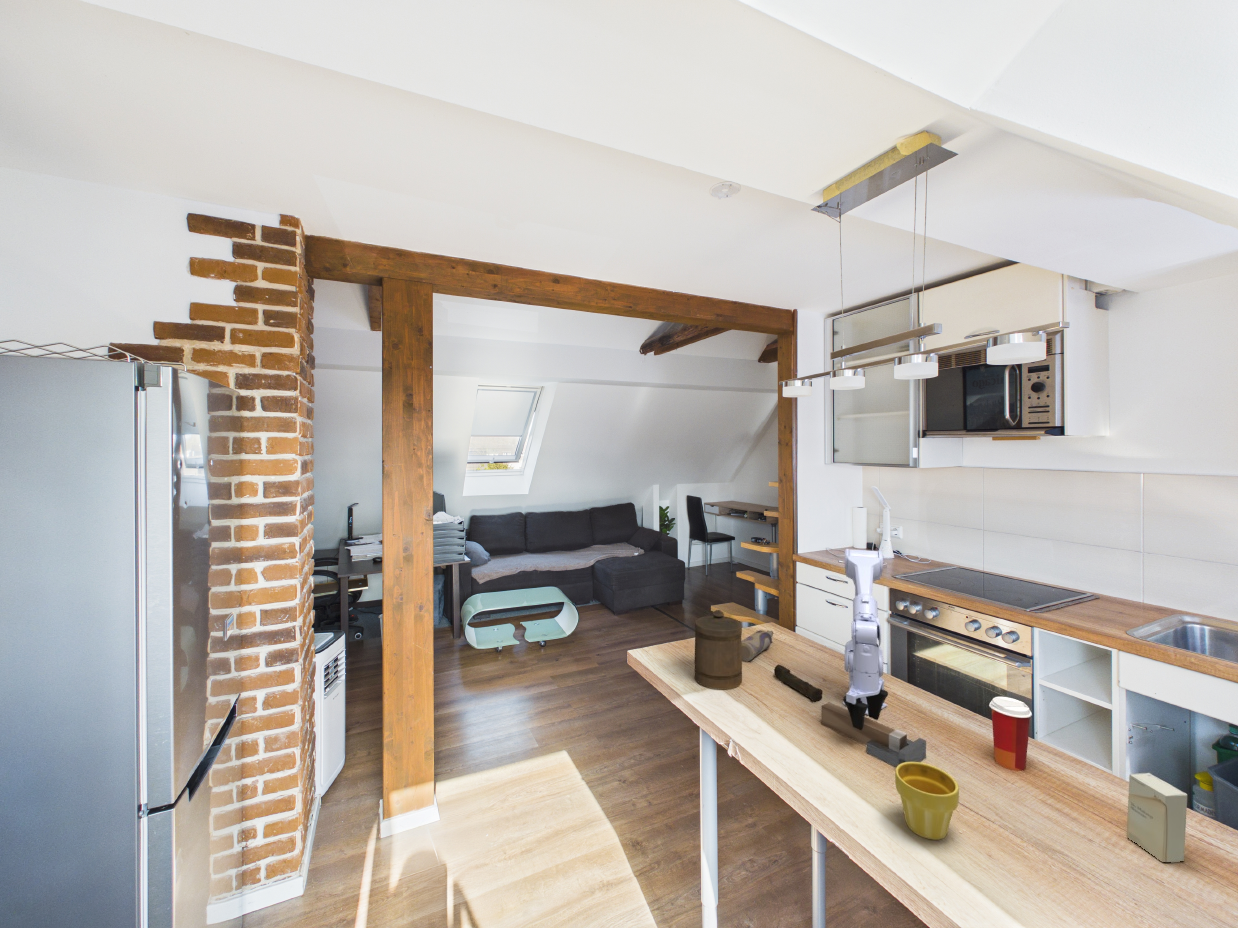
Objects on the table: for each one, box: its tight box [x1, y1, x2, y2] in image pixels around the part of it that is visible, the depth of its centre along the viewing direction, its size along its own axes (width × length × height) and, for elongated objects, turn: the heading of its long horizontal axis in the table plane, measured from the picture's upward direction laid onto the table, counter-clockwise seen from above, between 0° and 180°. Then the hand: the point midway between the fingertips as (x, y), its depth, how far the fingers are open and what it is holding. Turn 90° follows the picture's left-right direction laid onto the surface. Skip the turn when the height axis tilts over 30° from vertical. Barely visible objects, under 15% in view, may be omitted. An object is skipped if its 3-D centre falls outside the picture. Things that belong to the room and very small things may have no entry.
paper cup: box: [988, 696, 1033, 772], centre depth 117 cm, size 8×8×14 cm
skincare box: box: [1126, 772, 1188, 863], centre depth 92 cm, size 6×4×12 cm
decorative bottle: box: [741, 629, 774, 662], centre depth 186 cm, size 26×8×7 cm, turn 141°
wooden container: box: [694, 609, 743, 690], centre depth 162 cm, size 15×15×22 cm
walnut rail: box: [820, 701, 908, 753], centre depth 128 cm, size 4×20×5 cm, turn 36°
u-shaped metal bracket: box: [866, 737, 927, 768], centre depth 121 cm, size 10×9×4 cm
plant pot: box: [894, 761, 960, 841], centre depth 98 cm, size 10×10×10 cm
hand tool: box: [773, 664, 824, 703], centre depth 156 cm, size 19×4×5 cm, turn 20°
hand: (865, 722), depth 127 cm, fingers open, 7 cm apart
